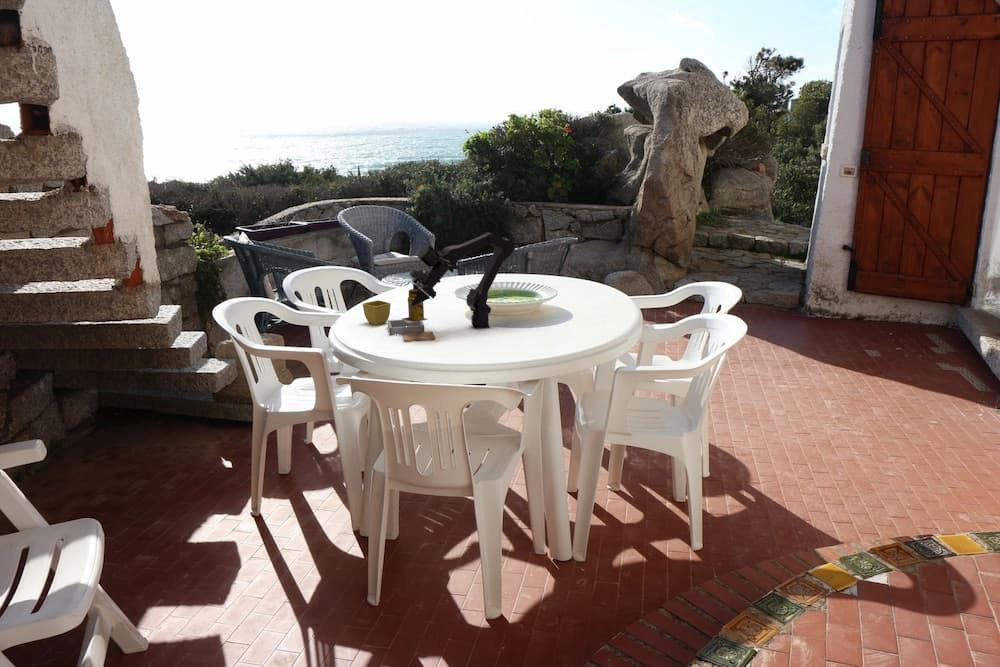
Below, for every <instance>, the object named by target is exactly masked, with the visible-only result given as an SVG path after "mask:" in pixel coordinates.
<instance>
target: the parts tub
mask: <svg viewBox="0 0 1000 667" xmlns="http://www.w3.org/2000/svg"><path fill="white" fill-rule="evenodd" d="M406 326H407V327H406ZM387 328H389V329H388V333H390V334H389V336H396V335H395V334H403V333H412V332H426V331H425V324H424V322H423V321H416V322H410V323H408V322H406V321H404V320H402V319H390V320H387Z"/></svg>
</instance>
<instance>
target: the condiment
mask: <svg viewBox="0 0 1000 667" xmlns="http://www.w3.org/2000/svg"><path fill="white" fill-rule="evenodd" d="M417 294H418V289H413V288H412V289H409V290H408V297H407V304H408V305H407V306H408V317H401V318H400V320H404V321H406V322H408V323H410V322H416V321H422V322H423V321H428V318H425V310H424V301H423V302H421V303H419V304H416V305H414V306H412V305H411V303H412V302H413V300H414V298H415V297H416V295H417Z"/></svg>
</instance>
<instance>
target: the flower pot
mask: <svg viewBox="0 0 1000 667" xmlns="http://www.w3.org/2000/svg"><path fill="white" fill-rule="evenodd" d="M391 304H392V303H391V302H387V301H384V300H379V299H378V300H373V301H368V302H364V303H362V308H363V314H364V317H365V318H366V321H367V322H368V323H369V324H370V323H371V324H372V325H373V326H380V325H383V323H384V324H386V323H388V319H389V318H390V313H391ZM371 324H370V325H371ZM379 324H380V325H379Z"/></svg>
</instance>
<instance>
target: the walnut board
mask: <svg viewBox="0 0 1000 667" xmlns="http://www.w3.org/2000/svg"><path fill="white" fill-rule="evenodd" d="M402 338H404V339H403V342H404V343H412V342H411V341H416V342H426V341H425V340H430V341H436V337H435V334H434V332H433V330H429V331H428V330H427V331H425V332H412V333H403V335H402Z"/></svg>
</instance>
